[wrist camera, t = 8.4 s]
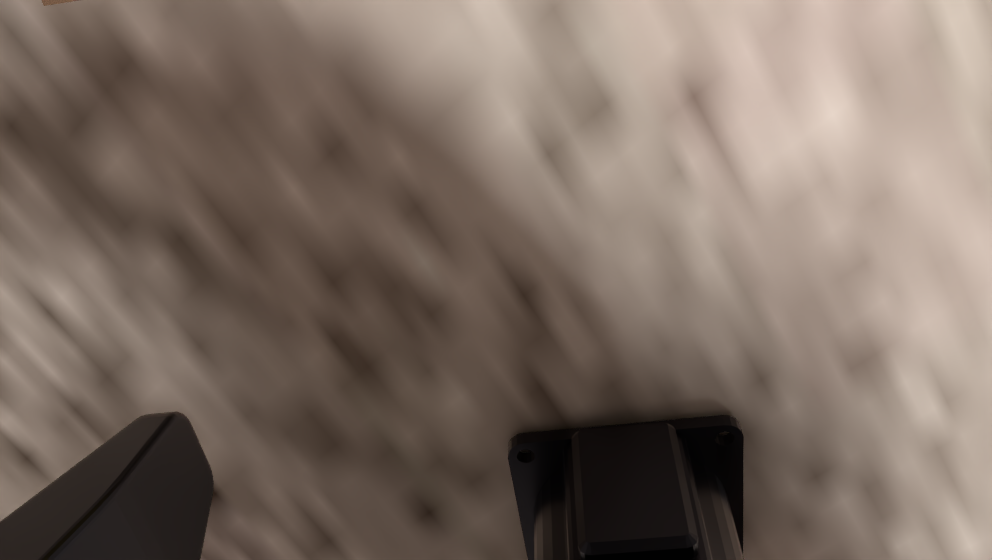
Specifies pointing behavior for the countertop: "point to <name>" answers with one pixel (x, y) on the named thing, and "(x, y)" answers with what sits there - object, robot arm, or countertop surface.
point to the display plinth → (55, 1)
